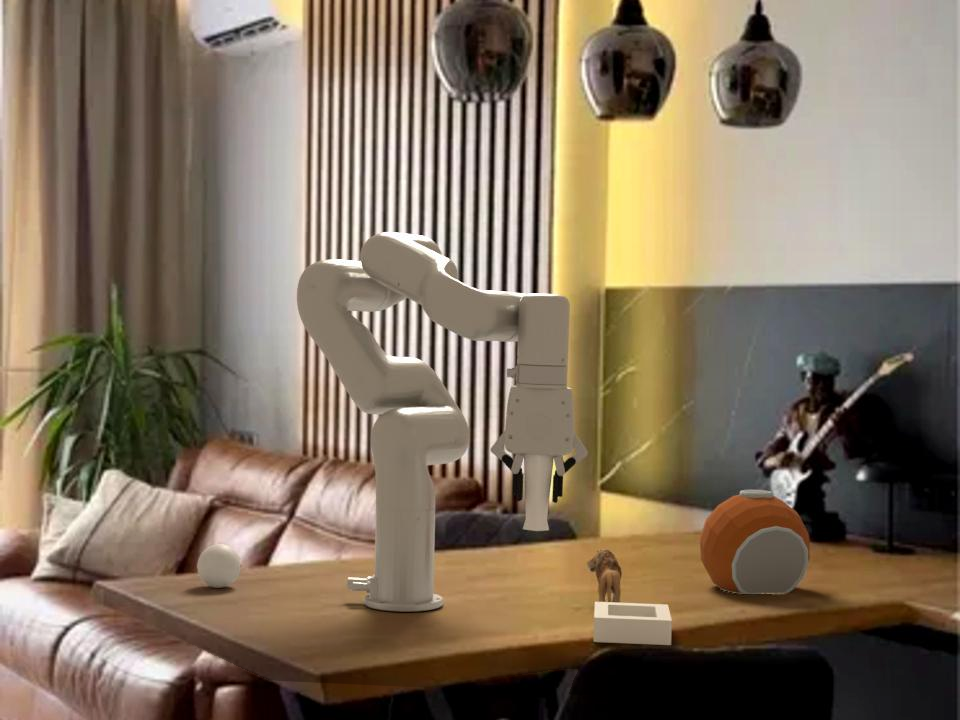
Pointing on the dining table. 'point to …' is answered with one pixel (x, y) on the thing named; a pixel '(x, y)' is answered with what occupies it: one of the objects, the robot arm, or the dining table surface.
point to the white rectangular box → (632, 623)
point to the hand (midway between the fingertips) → (537, 499)
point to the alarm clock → (755, 544)
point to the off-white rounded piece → (219, 565)
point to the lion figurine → (606, 574)
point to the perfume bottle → (537, 490)
